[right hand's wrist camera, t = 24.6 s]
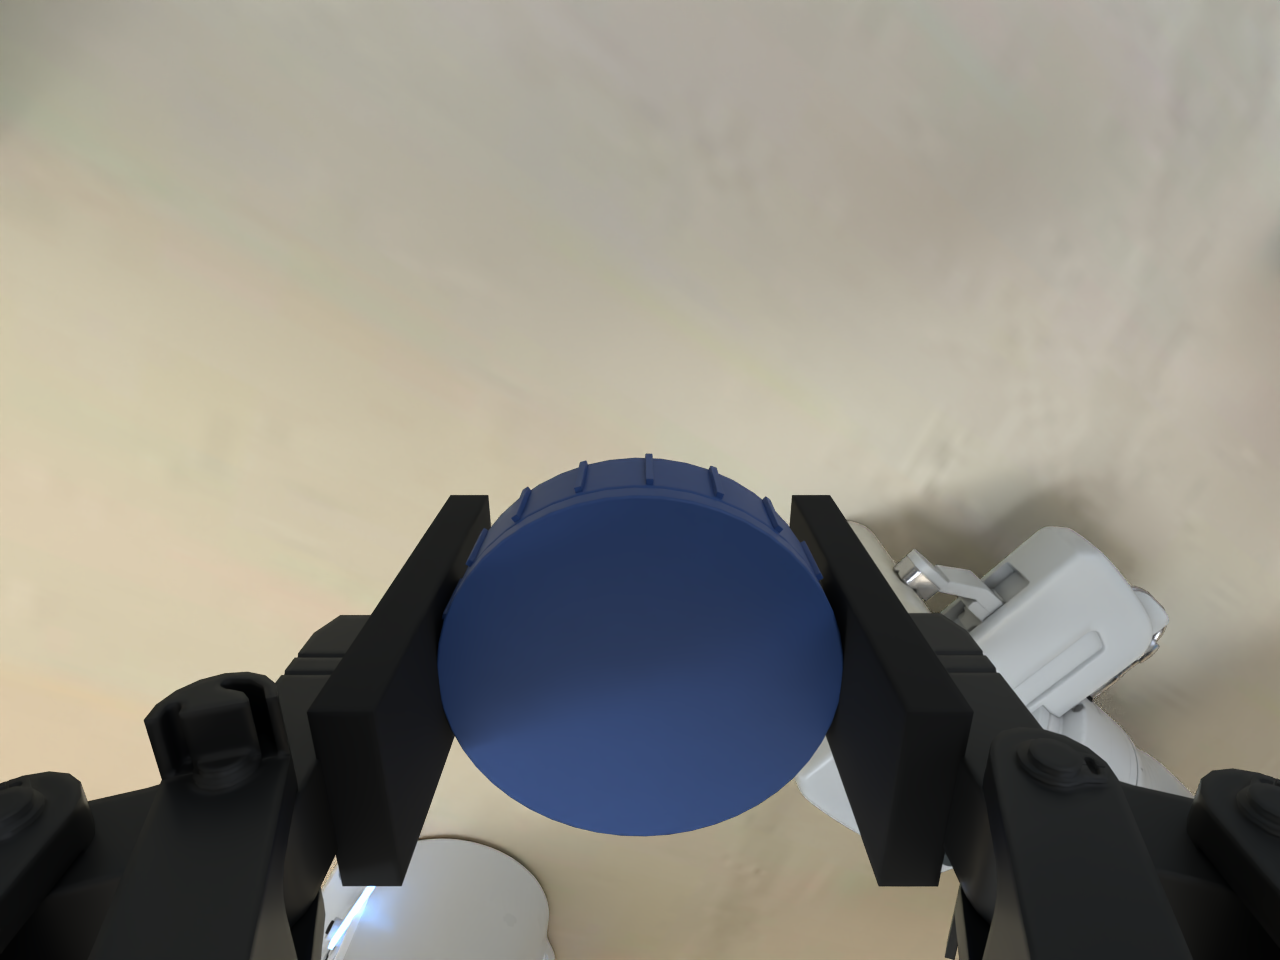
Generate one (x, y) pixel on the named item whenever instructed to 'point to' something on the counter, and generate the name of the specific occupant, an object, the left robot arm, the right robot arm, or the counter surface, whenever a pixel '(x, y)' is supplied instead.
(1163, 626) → the left robot arm
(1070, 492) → the counter surface
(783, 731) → the lid
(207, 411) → the counter surface
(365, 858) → the right robot arm
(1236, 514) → the counter surface
